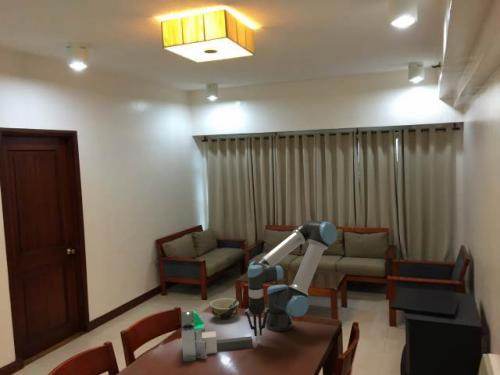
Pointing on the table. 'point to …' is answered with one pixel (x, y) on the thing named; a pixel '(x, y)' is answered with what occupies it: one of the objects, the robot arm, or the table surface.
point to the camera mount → (198, 322)
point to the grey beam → (224, 342)
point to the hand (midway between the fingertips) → (258, 341)
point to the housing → (192, 338)
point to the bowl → (224, 307)
